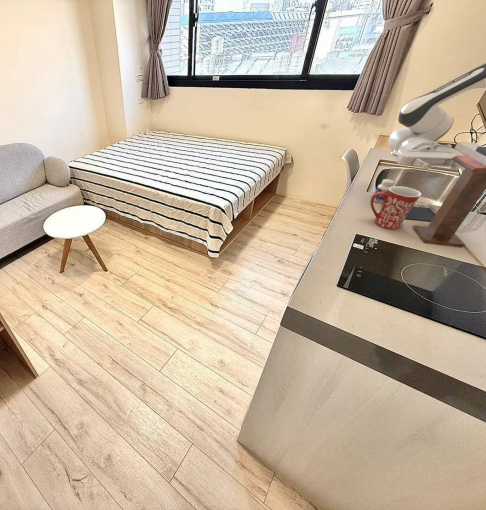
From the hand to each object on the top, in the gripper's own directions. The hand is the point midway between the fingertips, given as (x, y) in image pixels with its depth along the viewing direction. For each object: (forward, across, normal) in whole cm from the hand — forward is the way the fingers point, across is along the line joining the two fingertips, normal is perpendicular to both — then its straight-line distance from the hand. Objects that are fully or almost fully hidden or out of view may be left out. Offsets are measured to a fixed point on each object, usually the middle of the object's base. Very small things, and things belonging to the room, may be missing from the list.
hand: (442, 167), depth 95 cm
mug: (+7, -13, +20) cm, 25 cm away
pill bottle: (-13, -4, +21) cm, 26 cm away
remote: (+9, 0, -7) cm, 11 cm away
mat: (-2, +4, +20) cm, 20 cm away
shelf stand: (+16, 0, +18) cm, 24 cm away
